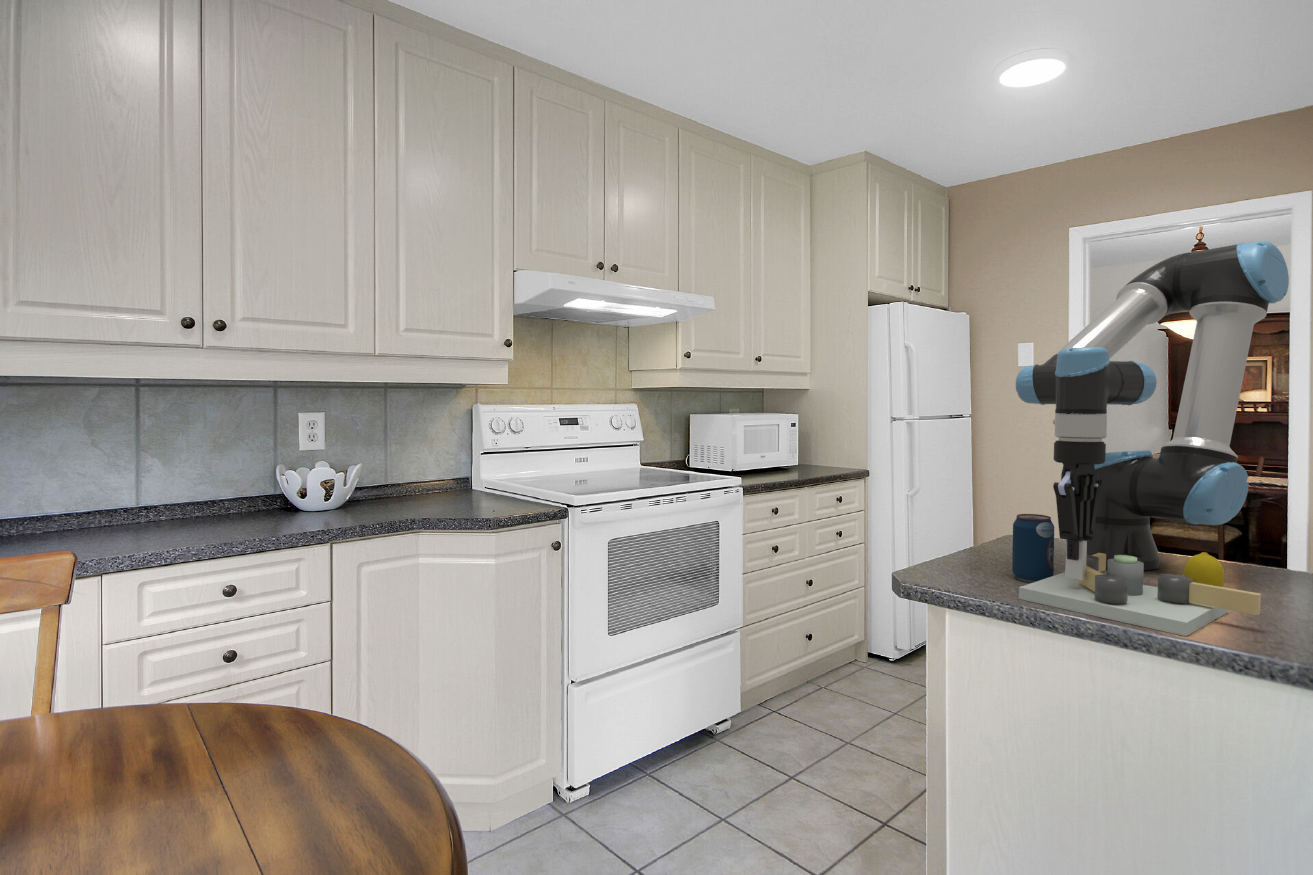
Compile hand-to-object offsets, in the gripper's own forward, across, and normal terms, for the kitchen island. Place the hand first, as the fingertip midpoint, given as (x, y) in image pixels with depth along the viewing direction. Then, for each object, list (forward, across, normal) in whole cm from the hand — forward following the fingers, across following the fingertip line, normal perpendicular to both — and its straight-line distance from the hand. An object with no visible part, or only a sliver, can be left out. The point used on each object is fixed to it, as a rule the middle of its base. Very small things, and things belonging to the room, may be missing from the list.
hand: (1075, 577), depth 120 cm
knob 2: (+1, -4, +17) cm, 18 cm away
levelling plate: (+4, -2, +6) cm, 7 cm away
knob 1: (+1, -11, -2) cm, 11 cm away
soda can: (+4, -8, -11) cm, 14 cm away
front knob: (+1, +1, +4) cm, 4 cm away
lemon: (+4, -17, +13) cm, 22 cm away
